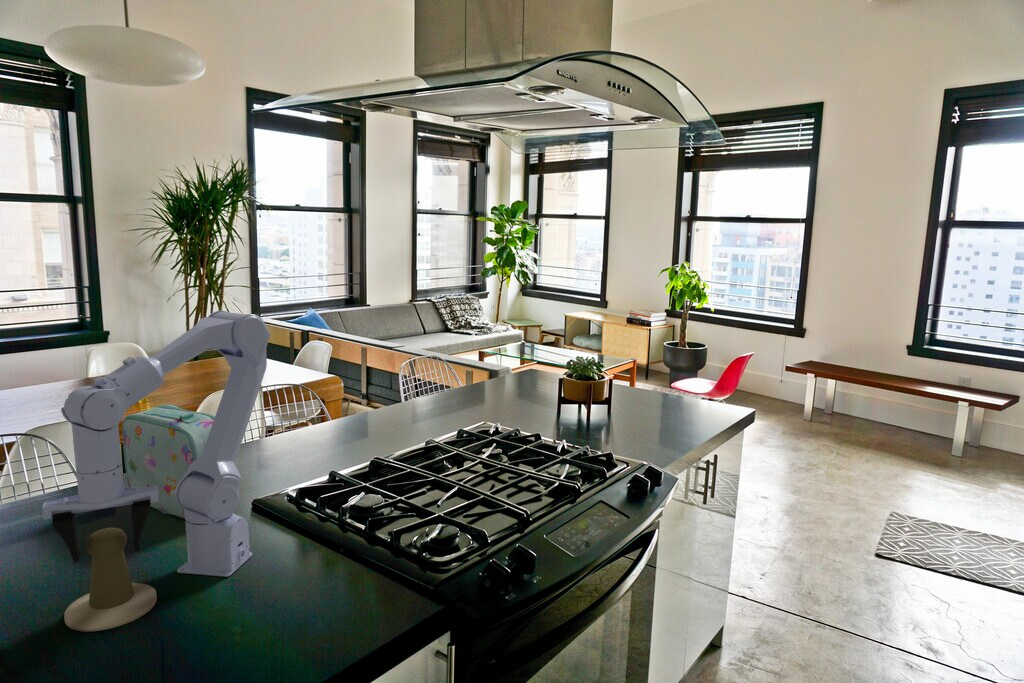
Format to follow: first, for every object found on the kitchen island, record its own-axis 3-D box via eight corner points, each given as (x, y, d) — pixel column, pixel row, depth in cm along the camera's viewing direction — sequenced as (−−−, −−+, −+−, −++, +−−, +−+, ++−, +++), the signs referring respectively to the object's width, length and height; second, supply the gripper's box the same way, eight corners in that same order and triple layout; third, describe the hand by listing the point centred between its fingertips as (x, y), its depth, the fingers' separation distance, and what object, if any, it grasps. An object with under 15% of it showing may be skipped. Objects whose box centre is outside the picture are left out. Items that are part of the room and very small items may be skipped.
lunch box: (246, 511, 136) (241, 410, 133) (202, 530, 127) (195, 423, 124) (167, 486, 149) (160, 394, 146) (121, 502, 140) (113, 404, 137)
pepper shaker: (123, 584, 106) (117, 519, 104) (141, 596, 102) (136, 529, 101) (81, 600, 101) (74, 533, 99) (99, 613, 98) (93, 544, 96)
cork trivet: (173, 590, 106) (173, 586, 105) (120, 634, 94) (119, 629, 94) (105, 584, 107) (104, 580, 107) (44, 627, 95) (43, 622, 95)
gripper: (155, 452, 104) (162, 533, 106) (43, 466, 97) (53, 552, 99) (154, 466, 98) (161, 552, 100) (35, 482, 91) (46, 574, 93)
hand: (107, 553), depth 99 cm, fingers open, 7 cm apart
